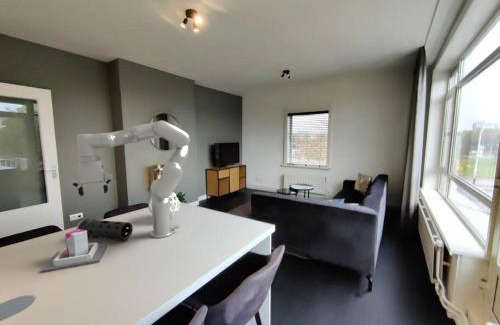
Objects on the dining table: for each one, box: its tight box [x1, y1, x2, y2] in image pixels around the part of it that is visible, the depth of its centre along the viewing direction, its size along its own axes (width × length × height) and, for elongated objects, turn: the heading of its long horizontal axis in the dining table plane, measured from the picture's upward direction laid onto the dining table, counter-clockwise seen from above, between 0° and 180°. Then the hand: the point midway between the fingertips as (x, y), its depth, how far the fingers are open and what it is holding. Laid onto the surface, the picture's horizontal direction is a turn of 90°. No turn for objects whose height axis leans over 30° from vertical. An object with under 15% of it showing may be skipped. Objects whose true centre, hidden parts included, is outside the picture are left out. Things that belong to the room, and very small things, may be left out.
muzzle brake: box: [75, 218, 134, 242], centre depth 119 cm, size 10×28×10 cm, turn 78°
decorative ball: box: [147, 191, 181, 218], centre depth 149 cm, size 20×20×19 cm
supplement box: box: [65, 229, 89, 258], centre depth 99 cm, size 6×6×12 cm
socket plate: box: [40, 242, 108, 274], centre depth 99 cm, size 20×16×4 cm
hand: (94, 194), depth 108 cm, fingers open, 9 cm apart
